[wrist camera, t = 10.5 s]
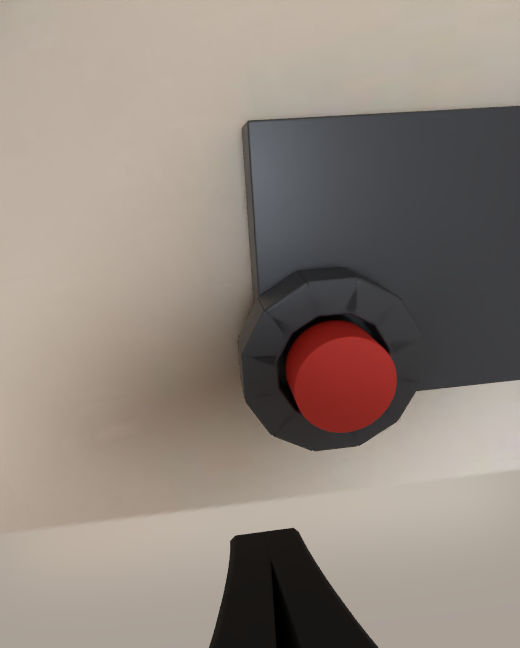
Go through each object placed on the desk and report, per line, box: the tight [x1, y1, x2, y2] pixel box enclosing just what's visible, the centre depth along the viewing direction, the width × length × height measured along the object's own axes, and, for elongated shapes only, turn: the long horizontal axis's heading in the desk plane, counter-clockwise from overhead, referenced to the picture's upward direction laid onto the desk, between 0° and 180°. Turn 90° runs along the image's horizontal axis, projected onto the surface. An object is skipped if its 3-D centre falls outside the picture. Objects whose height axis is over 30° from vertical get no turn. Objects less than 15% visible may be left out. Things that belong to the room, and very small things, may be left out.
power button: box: [285, 320, 397, 433], centre depth 15 cm, size 3×3×2 cm
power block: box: [238, 106, 520, 451], centre depth 17 cm, size 19×11×4 cm, turn 93°
